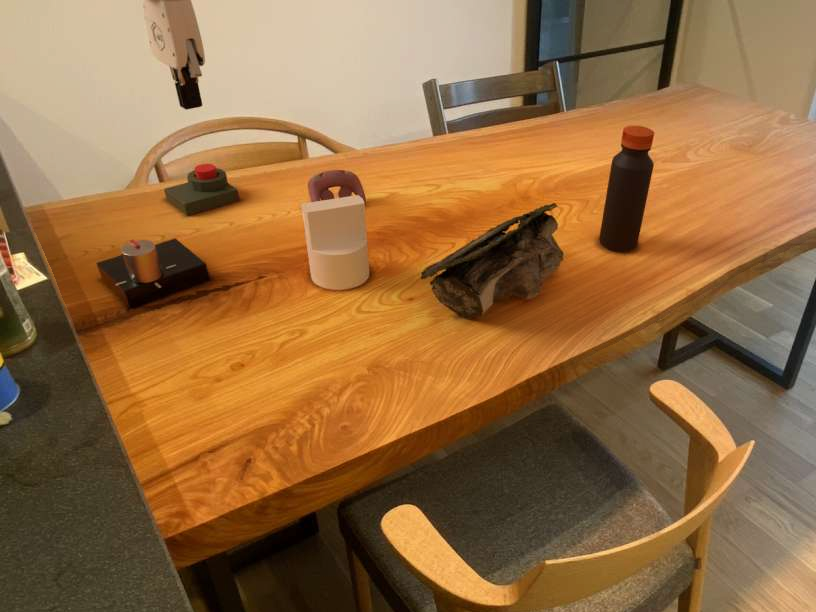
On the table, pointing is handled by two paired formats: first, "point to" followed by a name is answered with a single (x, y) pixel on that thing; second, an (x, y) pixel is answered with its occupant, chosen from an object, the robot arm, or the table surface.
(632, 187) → the bottle
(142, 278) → the dial
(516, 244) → the driftwood chunk
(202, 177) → the button
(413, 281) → the table surface
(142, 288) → the panel
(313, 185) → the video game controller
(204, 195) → the button box
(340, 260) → the cylinder with rectangular tab
